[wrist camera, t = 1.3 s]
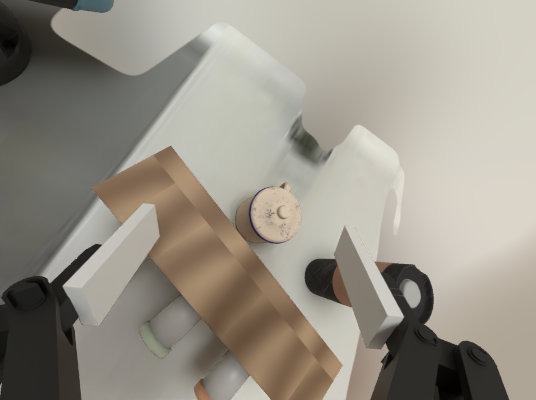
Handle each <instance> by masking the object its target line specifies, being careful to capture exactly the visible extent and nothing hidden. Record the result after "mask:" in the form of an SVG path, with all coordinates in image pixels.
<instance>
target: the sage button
mask: <svg viewBox="0 0 536 400" xmlns="http://www.w3.org/2000/svg"><path fill="white" fill-rule="evenodd" d="M200 319H201V317H200V315H199V314H198V313H197V312H196V311H195V309H194V308H193V307H192V306H191V305H190V304H189V302H188V301H187V300H186V299H185V298H184V297H183V295H182V294H180V295H179V296H178V297H177V298H176V299H175V300H174V301H172V302H171V303H170V304H169V305H168V306H167V307H166V308H165V309H163V310H162V311H161V312H160V313H159V314H158V315H157V316H155V317H154V318H153V319H152V320H151V321H147V322H146V323H145V324H144V325H143V326H142V327H140V329H139V332H140V335H141V337H142V339H143V341H144V342H145V344H146V345H147V347H148V348H149V349H150V350H151V351H152V352H153V353H154V354H155V355H156V356H157V357H159V358H161V359H163V358H164V357H165V356H166V355H167V354H168V353H169V352H170V351H171V348H172V347H173V346H174V345H175V344H176V343H177V342H178V341H179V340H180V339H181V338H182V337H183V336H184V335H185V334H186V333H187V332H188V331H189V330H190V329H191V328H192V327H193V326H194V325H195V324H196V323H197V322H198V321H199V320H200Z"/></svg>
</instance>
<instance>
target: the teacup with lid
mask: <svg viewBox="0 0 536 400" xmlns="http://www.w3.org/2000/svg"><path fill="white" fill-rule="evenodd" d="M290 190H291V185H290V184H289V183H288V182H285V183H283V184H282V185H281V186H280V187H267V188H264V189H262V190H260V191H259V192H258V193H257V194H256V195H255V196H253V197H251V198H250V199H248V200H246V201H245V202H243V203H242V204H241V206H240V207H239V209H238V211H237V214H236V225H237V229H238V231H239V232H240V234H241V235H242V236H243V237H244V238H245V239H246V240H248V241H250V242H254V243H266V242H269V243H275V244H278V243H283V242H286V241H288V240H290V239H291V238H292V237H293V236H294V235H295V234H296V232H297V231H298V229H299V227H300V223H301V210H300V206H299V204H298V202H297V200H296V198H295V197H294V196H293V195H292V194H291V193H290Z"/></svg>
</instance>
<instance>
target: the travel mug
mask: <svg viewBox="0 0 536 400" xmlns="http://www.w3.org/2000/svg"><path fill="white" fill-rule="evenodd" d="M375 264H376V266H377V268H378V270H379V271H380V272H383V273H388V274H389V275H390V276H391V277H392V278H393V279H394V280H395V282H396V283H397V285H398V287H399V288H400V290H401V292H402V293H403V296H404V297H405V298H406V300H407V302H408V304H409V305H410V307H411V309H412V310H413V312H414V314H415V315H416V317H417V319H418V320H419V322H420V323H422V324H425V323H426V322H427V321H428V319H429V318H430V316H431V313H432V310H433V304H434V296H433V289H432V286H431V282H430V280H429V278H428V276H427V275H426V274H424V273H422V272H421V271H419V270H418V269H417V268H416V267H415V265H411V264H398V263H385V262H375ZM305 281H306V284H307V287H308V288H309V290H310V291H311V292H313V293H314V294H316V295H319V296H321V297H324V298H327V299H329V300H332V301H335V302H338V303H340V304H343V305H346V306H349V307H352V305H351V302H350V299H349V297H348V294H347V291H346V288H345V285H344V282H343V279H342V276H341V273H340V270H339V267H338V264H337V262H336V259H316V260H314V261H312V262H311V263H310V264H309V265H308V267H307V269H306V273H305Z"/></svg>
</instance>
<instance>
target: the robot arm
mask: <svg viewBox="0 0 536 400" xmlns="http://www.w3.org/2000/svg"><path fill="white" fill-rule="evenodd" d="M30 1H34V2H39V3H44V4H48V5H53V6H58V7H63V8H67V9H71V10H73V11H79V10H86V11H93V12H100V13H104V12H107V11H109V10H110V9H111V8H112V6H113V3H114V0H30ZM30 53H31V49H30V43H29V40H28V37H27V35H26V33H25V32H24V30H23V28H22V27H21V25H20V24H19V22H18V21H17V19H16V18H15V17H14V15H13V14H12V13H11V12H10V11H9V10H8V8H7V7H6V6H5V5H4V4H2V3H1V2H0V85H1V84H4V83H6V82H8V81H10V80H12V79H14V78H15V77H16V76H18V75H19V74H20V73H21V72H22V71H23V70H24V69H25V67H26V66H27V64H28V61H29V59H30ZM159 237H160V235H159V228H158V222H157V215H156V209H155V205H154V204H145V203H143V204H142V205H141V206H140V207H139V208H138V209H137V210H136V211H135V212H134V213H133V214H132V215H131V216H130V217H129V218H128V219H127V220H126V221H125V223H124V224H123V225H122V226H121V227H120V228H119V229H118V230H117V231H116V232H115V233H114V234H113V235H112V236H111V237H110V238H109V239H108V240H107V241H106V242H105V243H104V244H103V245H100V244H95V245H93V246H91V247H90V248H88V249H86V250H85V251H84V252H83V253H82V254H81V255H79V256H78V257H77V259H75V260H74V261H73V262H72V263H71V265H69V266H68V267H67V268H66V269H65V270H64V271H63V272H62V273H61V274H60V275H59V276H58V277H57V278H55V279H54V280H53V281H52V282H51V283H49V282H48V280H47V278H45V277H42V276H34V277H30V278H26V279H23V280H21V281H19V282H17V283H15V284H13V285H12V286H10V287H9V288H8V289H7V290H6V291H5V292H4V293H3V295H2V297H1V298H2V299H3V301H4V302H5V303H6V304H4V305H0V384H1V382H2V387H1V395H0V400H81V391H80V381H79V371H78V361H77V351H76V341H75V331H74V327H73V324H74V323H75V321H76V320H77V319H78V317H79V319H80V321H81V323H82V325H92V326H99V325H100V324H101V322H102V321H103V319H104V318H105V316H106V315H107V313H108V312H109V310H110V309H111V307H112V306H113V305H114V303H115V302H116V300H117V299H118V297H119V296H120V294H121V293H122V291H123V290H124V288H125V287H126V285H127V284H128V282H129V281H130V279H131V278H132V277H133V275H134V274H135V272H136V271H137V269H138V268H139V266H140V265H141V263H142V262H143V260H144V259H145V257H146V256H147V254H148V253H149V251H150V250H151V249H152V247H153V246H154V244H155V243H156V241H157V240H158V238H159ZM334 256H335V259H336V262H337V264H338V267H339V270H340V273H341V276H342V279H343V282H344V285H345V288H346V291H347V294H348V297H349V299H350V302H351V305H352V308H353V311H354V314H355V317H356V320H357V323H358V326H359V329H360V332H361V334H362V337H363V340H364V343H365V346H366V348H370V349H381V348H382V347H383V345H384V344H385V343H386V345H387V348H388V350H389V352H388V353H387V354H386V356H385V357H384V358H383V360H382V361H381V363H383V366H382V369H381V372H380V374H379V377H378V380H377V383H376V385H375V389H374V391H373V394H372V397H371V400H509V398H508V395H507V393H506V390H505V387H504V385H503V382H502V379H501V376H500V374H499V371H498V369H497V366H496V364H495V362H494V360H493V359H492V357H491V356H490V355H489V354H488V353H487V352H486V351H484V349H482V348H481V347H479V346H478V345H476V344H475V343H472V342H469V341H462V342H461V343H460V344H459V345H458V346H457V345H455V344H452V343H450V342H447V341H444V340H442V339H439V338H438V337H437V335H436V334H435V333H434V332H433V331H432V330H431V329H429V328H428V327H427V326H426V325H424V324H422V323H420V322H419V320H418V319H417V317H416V315H415V314H414V312H413V310H412V309H411V307H410V305H409V304H408V302H407V300H406V298H405V297H404V296H403V293H402V292H401V290H400V288H399V287H398V285H397V283H396V282H395V280H394V279H393V278H392V277H391V276H390V275H389V274H388V273H383V272H380V271H379V270H378V268H377V266H376V264H375V262H374V260H373V259H372V257H371V255H370V253H369V251H368V249H367V247H366V246H365V244H364V242H363V240H362V238H361V236H360V234H359V233H358V231H357V229H356V227H352V226H344V229H343V232H342V235H341V237H340V240H339V243H338V245H337V248H336V251H335V253H334Z"/></svg>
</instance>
